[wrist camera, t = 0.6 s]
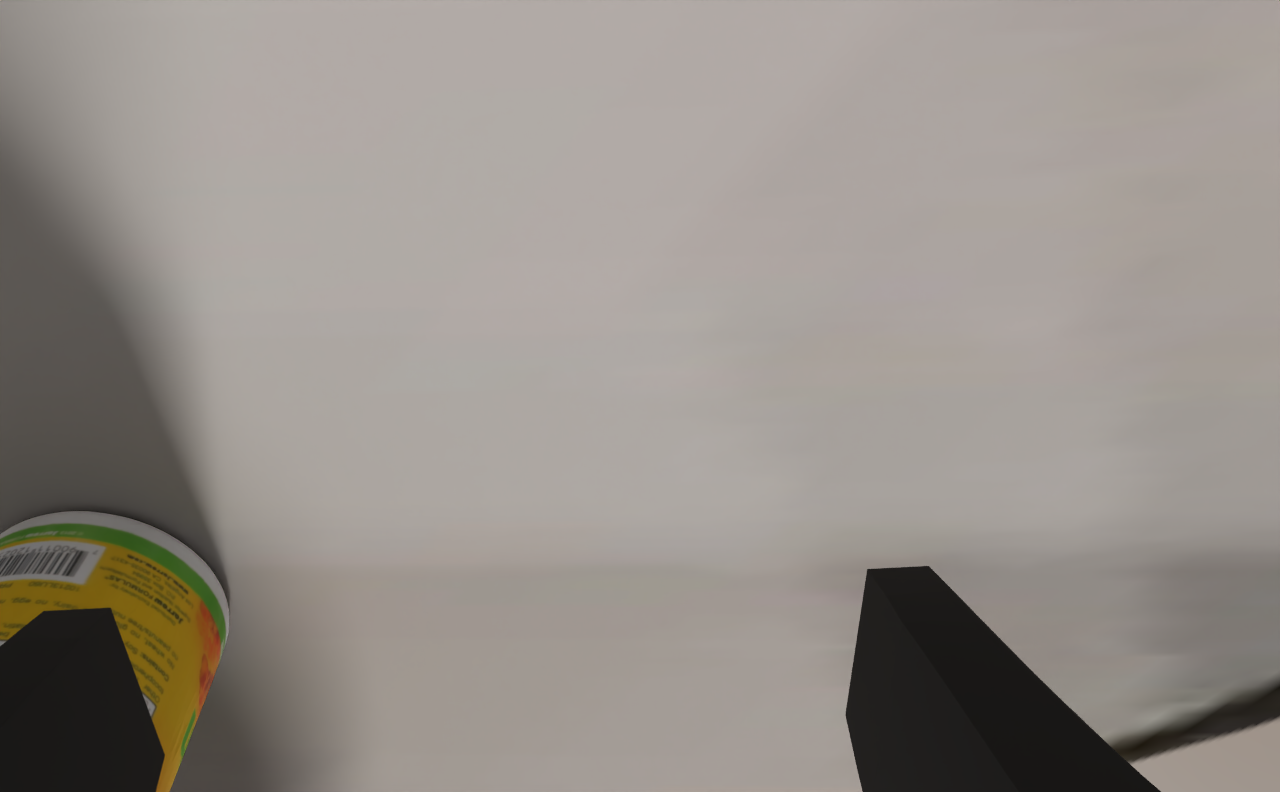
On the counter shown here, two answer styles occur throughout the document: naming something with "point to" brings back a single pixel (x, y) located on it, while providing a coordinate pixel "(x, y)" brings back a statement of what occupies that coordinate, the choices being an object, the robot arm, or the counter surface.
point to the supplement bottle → (125, 606)
